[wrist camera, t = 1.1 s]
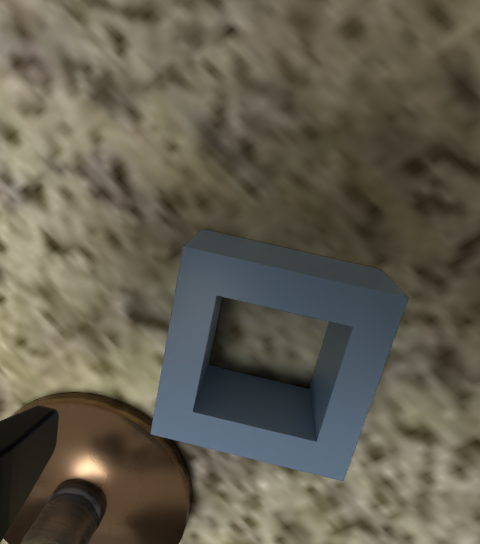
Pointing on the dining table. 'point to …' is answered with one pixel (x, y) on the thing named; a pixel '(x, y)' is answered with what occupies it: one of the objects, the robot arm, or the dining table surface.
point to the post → (105, 479)
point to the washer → (263, 392)
